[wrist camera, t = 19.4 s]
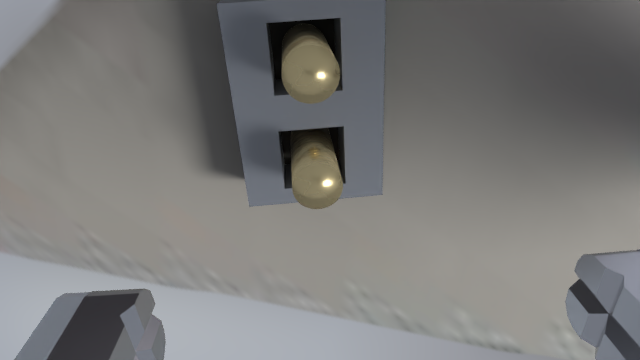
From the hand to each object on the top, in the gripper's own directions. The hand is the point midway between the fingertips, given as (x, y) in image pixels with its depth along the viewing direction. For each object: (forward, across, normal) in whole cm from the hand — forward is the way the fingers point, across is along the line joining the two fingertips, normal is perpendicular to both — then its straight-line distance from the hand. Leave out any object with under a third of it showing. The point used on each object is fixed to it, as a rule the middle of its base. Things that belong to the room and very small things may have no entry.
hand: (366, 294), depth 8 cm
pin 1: (+25, +1, 0) cm, 25 cm away
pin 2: (+25, +1, +7) cm, 26 cm away
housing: (+25, +1, +4) cm, 25 cm away
